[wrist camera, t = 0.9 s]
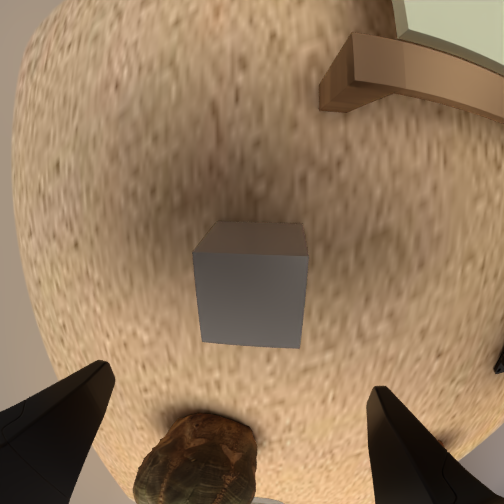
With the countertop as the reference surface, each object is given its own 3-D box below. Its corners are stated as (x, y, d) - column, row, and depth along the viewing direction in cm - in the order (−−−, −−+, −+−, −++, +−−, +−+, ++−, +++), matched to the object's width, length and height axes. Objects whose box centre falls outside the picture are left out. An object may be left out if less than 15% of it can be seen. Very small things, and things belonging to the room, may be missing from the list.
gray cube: (302, 223, 17) (308, 256, 12) (297, 298, 19) (299, 348, 14) (217, 220, 17) (192, 252, 13) (221, 294, 19) (202, 342, 14)
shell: (142, 400, 25) (96, 495, 14) (247, 402, 23) (225, 526, 12) (182, 453, 29) (157, 532, 18) (270, 456, 27) (259, 548, 16)
